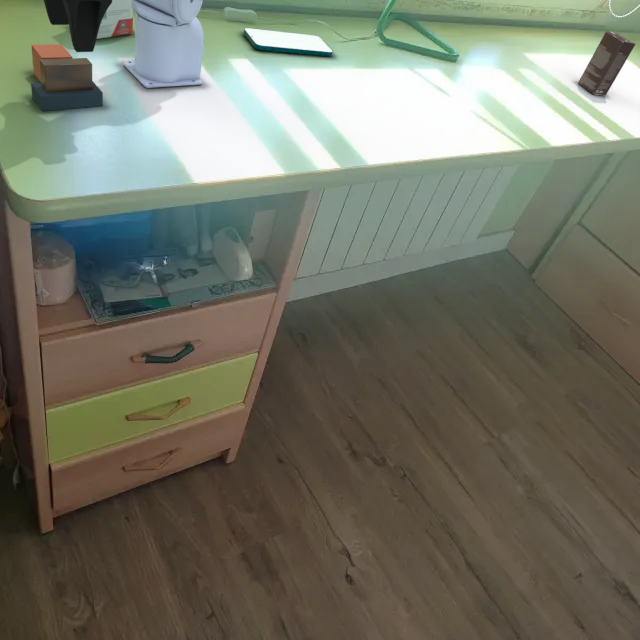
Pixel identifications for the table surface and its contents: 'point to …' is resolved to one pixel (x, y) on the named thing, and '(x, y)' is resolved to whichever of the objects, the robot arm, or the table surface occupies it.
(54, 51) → the reddish-orange block
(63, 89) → the stepped two-tone block
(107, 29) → the ink box
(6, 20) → the table surface
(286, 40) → the smartphone
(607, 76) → the box
